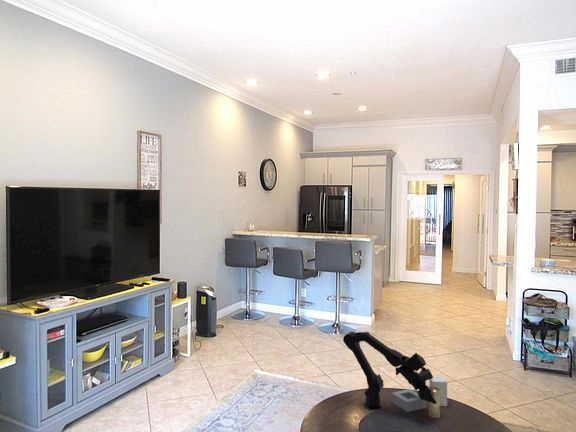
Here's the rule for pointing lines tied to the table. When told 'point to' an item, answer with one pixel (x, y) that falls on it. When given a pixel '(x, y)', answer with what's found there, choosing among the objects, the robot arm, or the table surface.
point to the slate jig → (408, 400)
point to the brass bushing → (435, 408)
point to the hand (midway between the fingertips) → (433, 399)
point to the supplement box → (441, 384)
